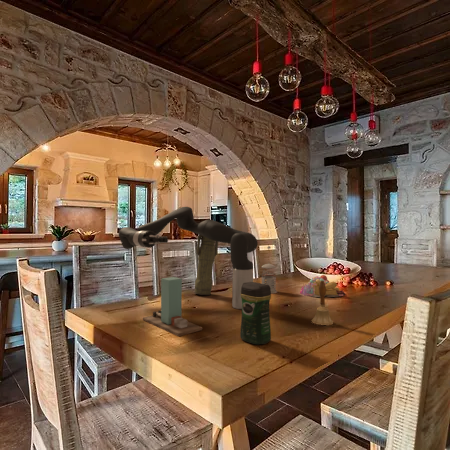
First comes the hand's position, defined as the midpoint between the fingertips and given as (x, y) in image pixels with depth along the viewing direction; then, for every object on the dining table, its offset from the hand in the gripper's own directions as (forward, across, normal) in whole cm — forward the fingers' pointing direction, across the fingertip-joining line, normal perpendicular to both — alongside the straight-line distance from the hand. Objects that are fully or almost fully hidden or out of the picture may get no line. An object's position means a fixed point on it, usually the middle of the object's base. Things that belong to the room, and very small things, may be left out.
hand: (166, 240), depth 135 cm
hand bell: (+51, -36, -31) cm, 70 cm away
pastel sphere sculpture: (+23, -84, -31) cm, 92 cm away
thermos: (-16, -33, -30) cm, 48 cm away
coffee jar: (+46, -4, -31) cm, 56 cm away
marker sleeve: (+15, +7, -29) cm, 34 cm away
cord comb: (+14, +7, -30) cm, 35 cm away
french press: (+2, -64, -30) cm, 71 cm away
